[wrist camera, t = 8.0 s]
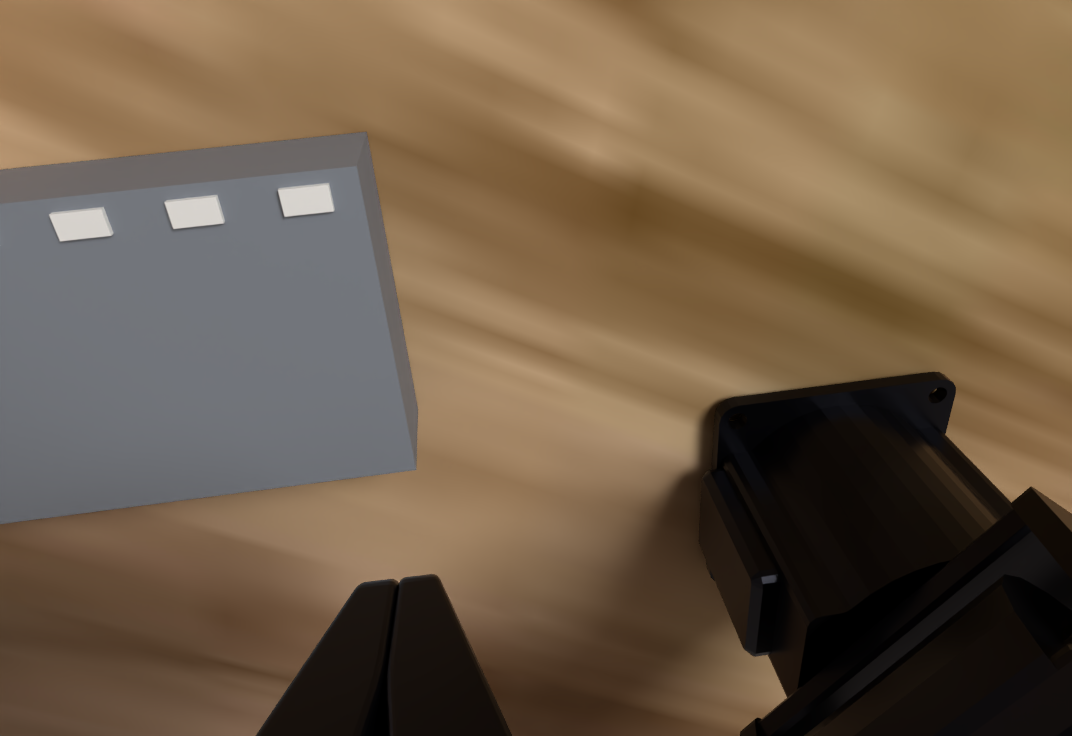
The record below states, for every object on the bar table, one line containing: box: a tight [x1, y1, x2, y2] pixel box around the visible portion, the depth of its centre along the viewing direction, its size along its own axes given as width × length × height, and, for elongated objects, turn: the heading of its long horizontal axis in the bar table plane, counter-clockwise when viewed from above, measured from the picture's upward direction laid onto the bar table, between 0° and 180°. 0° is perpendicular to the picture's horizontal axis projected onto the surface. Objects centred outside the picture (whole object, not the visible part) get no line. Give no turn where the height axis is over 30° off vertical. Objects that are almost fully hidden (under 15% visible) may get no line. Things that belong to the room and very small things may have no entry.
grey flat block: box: [0, 132, 418, 524], centre depth 16 cm, size 14×7×3 cm, turn 94°
